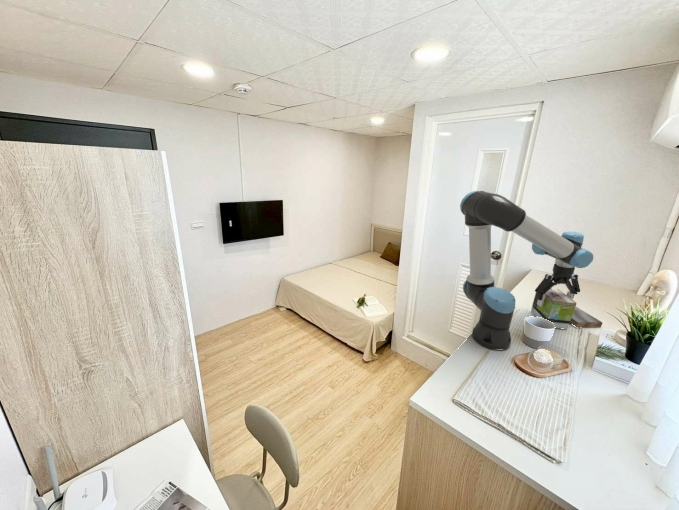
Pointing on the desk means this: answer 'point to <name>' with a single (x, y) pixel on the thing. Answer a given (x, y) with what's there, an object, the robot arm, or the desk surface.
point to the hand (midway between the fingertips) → (553, 305)
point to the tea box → (555, 308)
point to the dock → (584, 319)
